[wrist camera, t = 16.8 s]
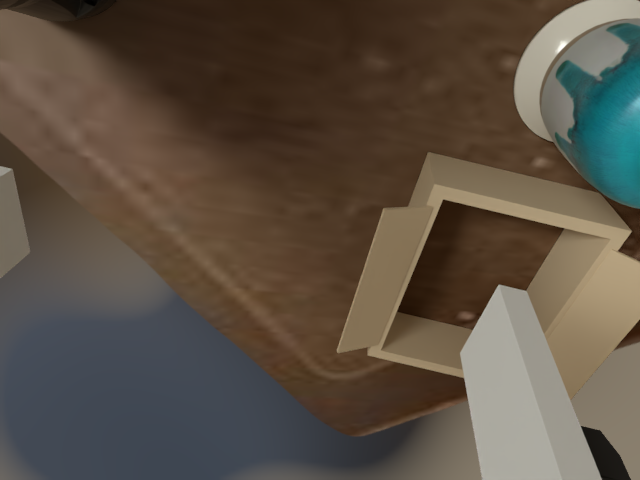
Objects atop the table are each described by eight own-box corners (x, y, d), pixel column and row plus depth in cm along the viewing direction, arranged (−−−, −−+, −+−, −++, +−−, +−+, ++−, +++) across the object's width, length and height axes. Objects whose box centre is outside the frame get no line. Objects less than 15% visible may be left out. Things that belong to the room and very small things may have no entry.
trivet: (490, 125, 42) (492, 127, 41) (554, -21, 35) (556, -20, 34) (615, 155, 42) (618, 158, 41) (702, 16, 35) (707, 17, 35)
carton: (339, 305, 56) (332, 365, 48) (390, 142, 44) (390, 187, 36) (532, 351, 57) (556, 418, 49) (637, 202, 44) (692, 259, 36)
